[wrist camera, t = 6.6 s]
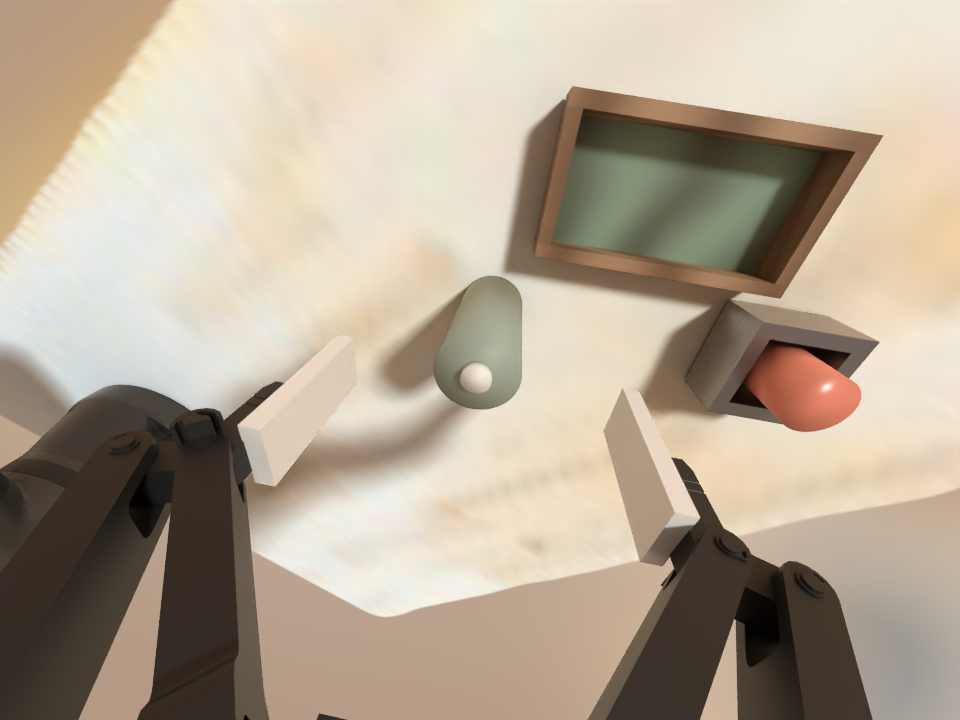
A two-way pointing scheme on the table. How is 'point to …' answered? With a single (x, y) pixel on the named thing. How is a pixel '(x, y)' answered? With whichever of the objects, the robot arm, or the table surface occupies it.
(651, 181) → the wooden tray
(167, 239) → the table surface
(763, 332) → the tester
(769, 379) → the coral capsule
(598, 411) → the table surface
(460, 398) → the cell
